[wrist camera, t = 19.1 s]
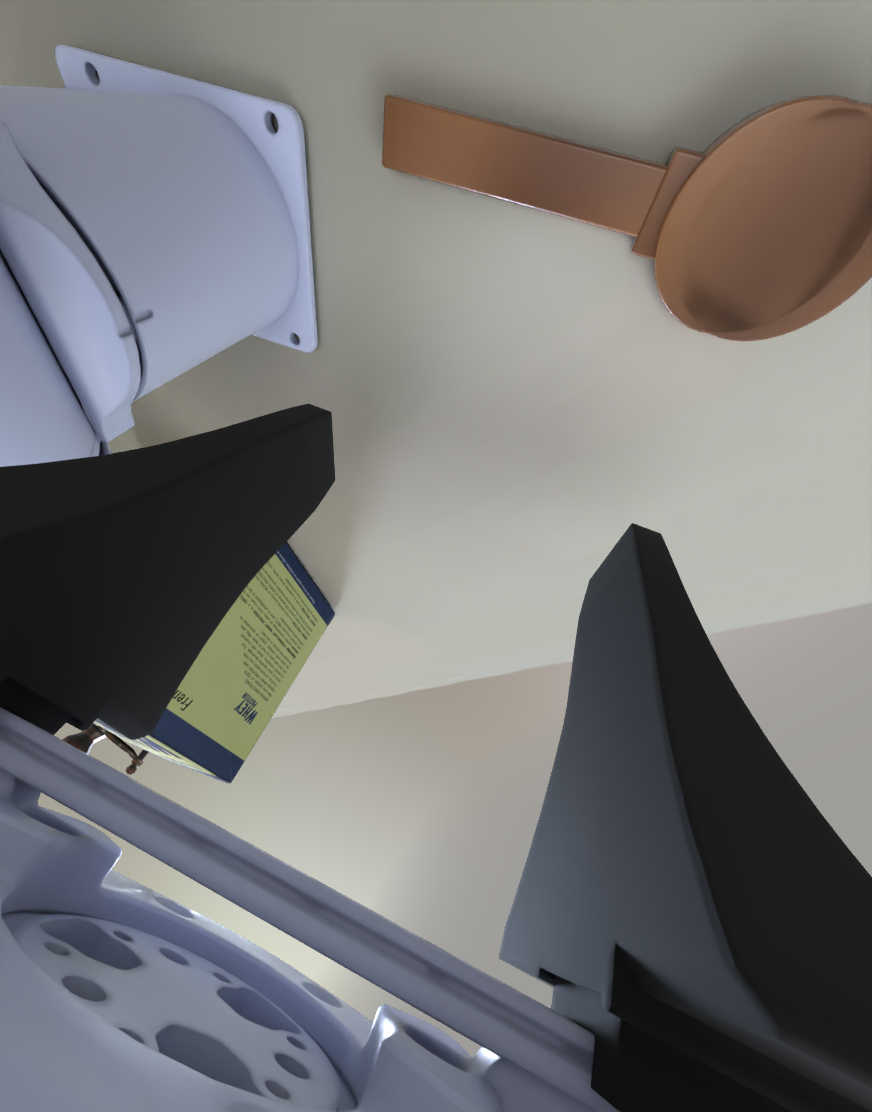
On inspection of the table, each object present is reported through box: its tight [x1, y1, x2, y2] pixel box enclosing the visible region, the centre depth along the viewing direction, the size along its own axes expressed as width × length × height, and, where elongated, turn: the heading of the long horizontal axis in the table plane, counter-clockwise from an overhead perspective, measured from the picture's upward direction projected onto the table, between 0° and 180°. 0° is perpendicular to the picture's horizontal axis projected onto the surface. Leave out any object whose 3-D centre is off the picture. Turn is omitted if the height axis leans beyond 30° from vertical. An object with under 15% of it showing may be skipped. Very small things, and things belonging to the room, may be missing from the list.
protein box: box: [93, 543, 335, 783], centre depth 31 cm, size 10×16×16 cm
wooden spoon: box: [382, 95, 872, 341], centre depth 12 cm, size 15×5×1 cm, turn 80°
